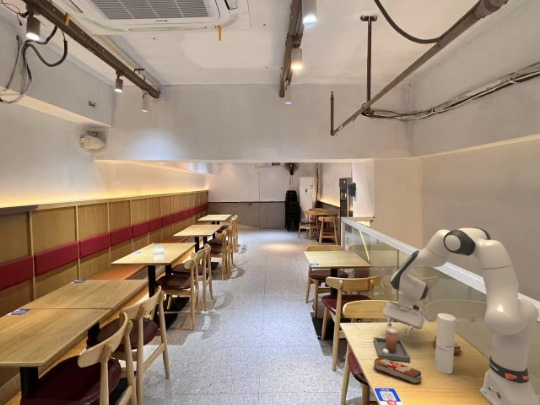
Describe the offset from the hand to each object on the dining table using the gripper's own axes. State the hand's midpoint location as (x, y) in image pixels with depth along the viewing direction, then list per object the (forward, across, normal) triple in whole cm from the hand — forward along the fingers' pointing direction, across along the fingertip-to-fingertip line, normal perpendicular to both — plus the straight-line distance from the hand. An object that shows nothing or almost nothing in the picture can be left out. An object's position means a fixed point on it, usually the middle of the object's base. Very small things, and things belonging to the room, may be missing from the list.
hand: (397, 329), depth 155 cm
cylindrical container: (+8, +23, +4) cm, 25 cm away
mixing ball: (+14, 0, -5) cm, 15 cm away
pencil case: (+22, +10, -9) cm, 26 cm away
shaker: (+11, 0, 0) cm, 11 cm away
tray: (+11, 0, +1) cm, 11 cm away
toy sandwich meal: (-6, +19, +19) cm, 27 cm away
